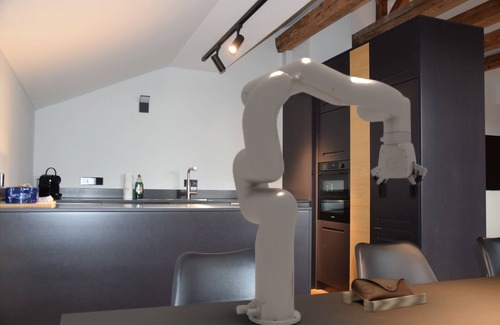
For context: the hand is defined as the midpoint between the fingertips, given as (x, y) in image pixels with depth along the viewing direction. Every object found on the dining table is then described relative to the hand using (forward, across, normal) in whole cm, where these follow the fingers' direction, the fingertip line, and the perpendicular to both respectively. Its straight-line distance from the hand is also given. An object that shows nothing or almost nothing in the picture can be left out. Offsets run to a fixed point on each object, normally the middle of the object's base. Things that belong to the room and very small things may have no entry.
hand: (397, 198), depth 125 cm
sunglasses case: (+29, -1, -4) cm, 30 cm away
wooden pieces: (+29, -1, -5) cm, 30 cm away
